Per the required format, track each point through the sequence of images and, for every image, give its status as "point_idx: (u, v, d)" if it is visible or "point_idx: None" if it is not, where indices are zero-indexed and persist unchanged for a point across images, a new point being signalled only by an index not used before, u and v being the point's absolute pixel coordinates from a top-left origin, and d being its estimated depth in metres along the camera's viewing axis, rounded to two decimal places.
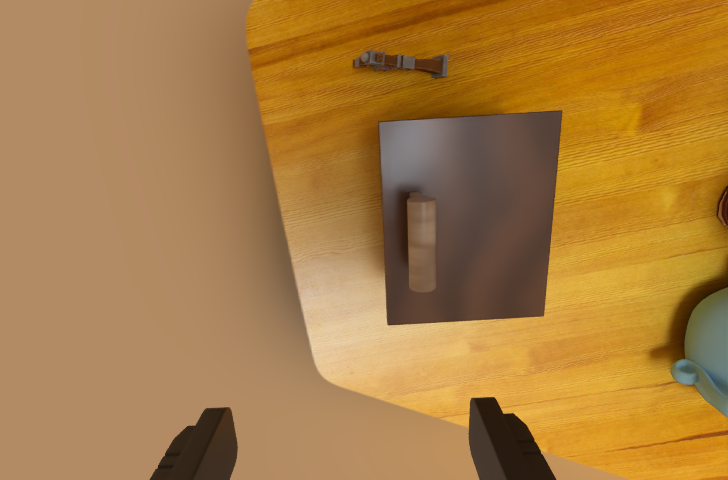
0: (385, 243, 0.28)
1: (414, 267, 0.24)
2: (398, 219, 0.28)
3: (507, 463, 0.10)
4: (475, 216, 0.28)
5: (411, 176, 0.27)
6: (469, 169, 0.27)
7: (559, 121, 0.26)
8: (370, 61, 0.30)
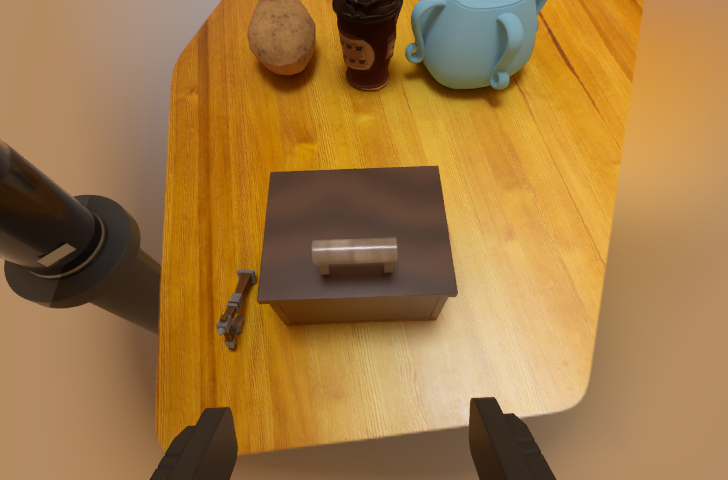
0: (368, 295, 0.29)
1: (373, 254, 0.26)
2: (345, 284, 0.30)
3: (507, 463, 0.10)
4: (346, 222, 0.32)
5: (307, 273, 0.30)
6: (306, 229, 0.32)
7: (277, 173, 0.35)
8: (224, 325, 0.35)
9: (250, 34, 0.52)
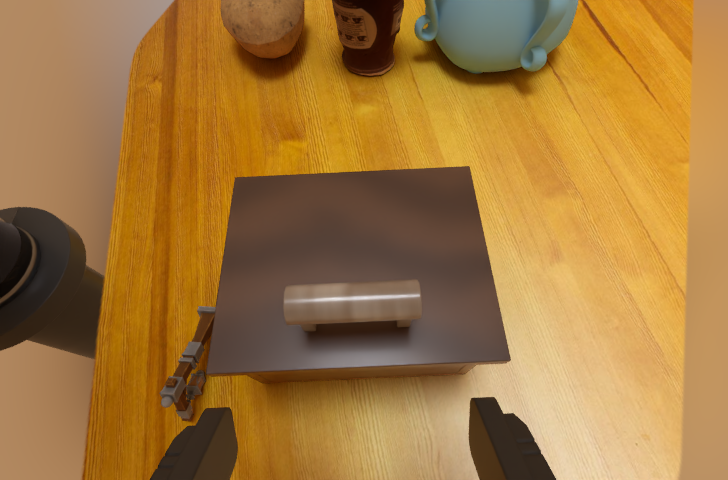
0: (375, 364, 0.19)
1: (383, 309, 0.16)
2: (340, 345, 0.20)
3: (507, 463, 0.10)
4: (341, 249, 0.22)
5: (282, 329, 0.20)
6: (283, 259, 0.22)
7: (245, 178, 0.25)
8: (172, 394, 0.25)
9: (223, 7, 0.42)
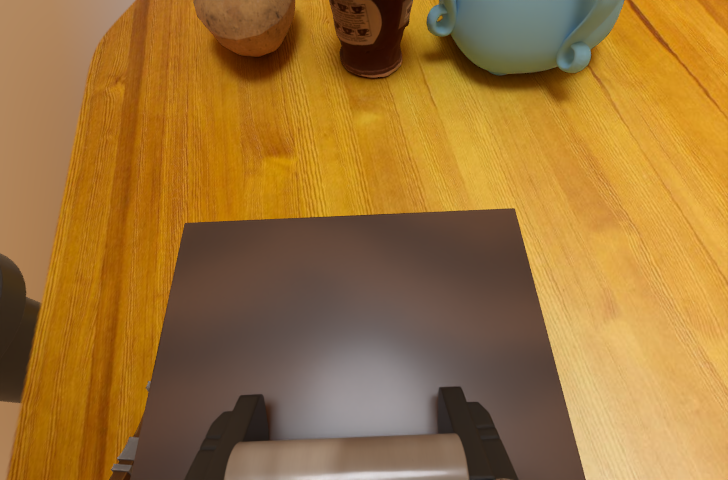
0: None
1: None
2: None
3: (465, 446, 0.10)
4: (332, 337, 0.15)
5: None
6: (245, 354, 0.15)
7: (198, 224, 0.18)
8: None
9: None
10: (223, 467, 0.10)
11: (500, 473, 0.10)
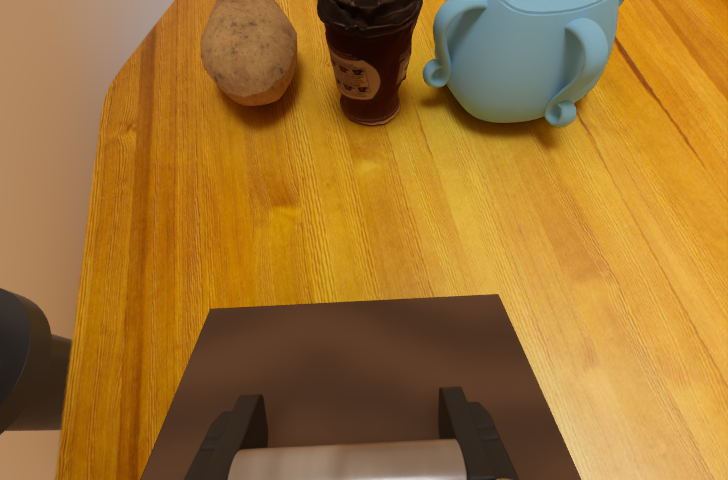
0: None
1: None
2: None
3: (465, 446, 0.10)
4: (336, 400, 0.16)
5: None
6: None
7: (222, 309, 0.20)
8: None
9: (203, 50, 0.36)
10: (222, 467, 0.10)
11: (501, 473, 0.10)
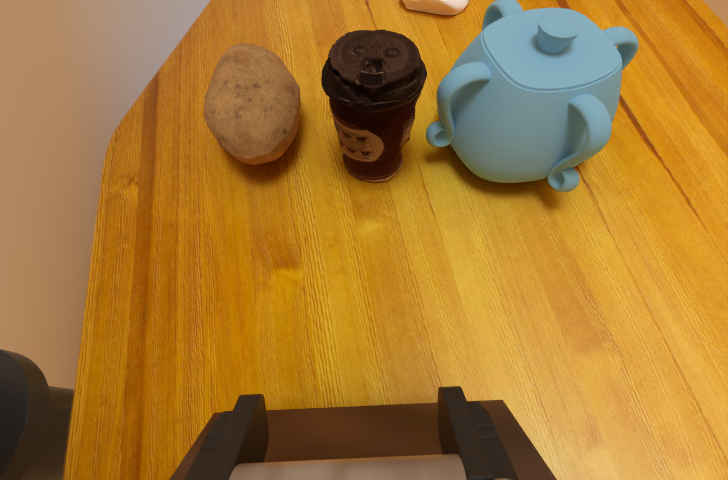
0: None
1: None
2: None
3: (464, 446, 0.10)
4: None
5: None
6: None
7: None
8: None
9: (206, 110, 0.37)
10: (223, 467, 0.10)
11: (500, 473, 0.10)
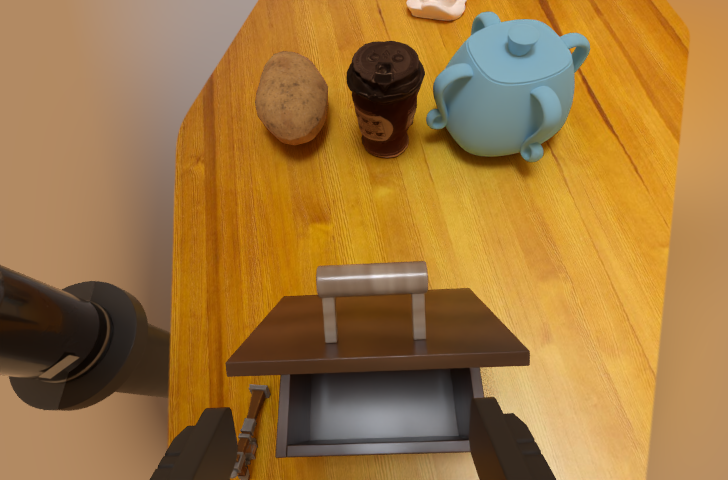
0: (392, 355, 0.19)
1: (395, 269, 0.20)
2: (358, 348, 0.21)
3: (507, 463, 0.10)
4: (364, 314, 0.26)
5: (306, 343, 0.22)
6: (313, 319, 0.26)
7: (291, 296, 0.32)
8: (236, 467, 0.32)
9: (258, 104, 0.48)
10: None
11: None
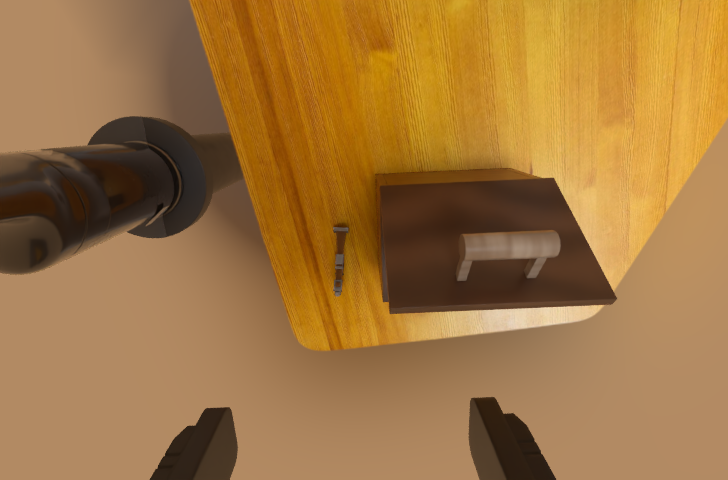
0: (516, 301, 0.26)
1: (533, 246, 0.24)
2: (486, 290, 0.27)
3: (507, 463, 0.10)
4: (471, 229, 0.30)
5: (440, 279, 0.27)
6: (429, 236, 0.30)
7: (387, 186, 0.34)
8: (340, 290, 0.44)
9: None
10: None
11: None
